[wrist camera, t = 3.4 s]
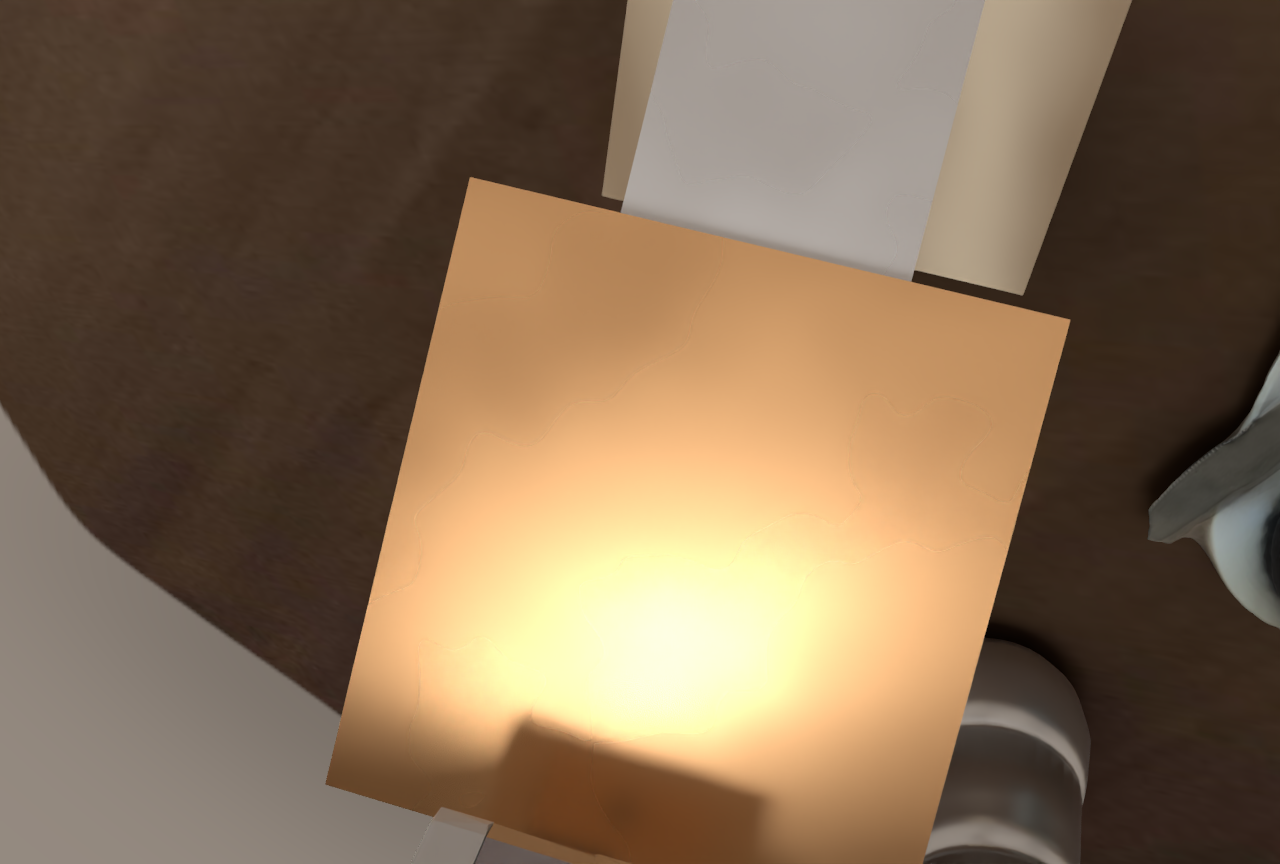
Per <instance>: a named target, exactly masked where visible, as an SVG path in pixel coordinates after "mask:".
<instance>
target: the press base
mask: <svg viewBox="0 0 1280 864" xmlns="http://www.w3.org/2000/svg"><path fill="white" fill-rule="evenodd" d="M1131 1H1132V0H985V3H984V7H983V11H982V15H981V18H980V22H979V26H978V30H977V34H976V37H975V41H974V45H973V49H972V53H971V56H970V60H969V64H968V68H967V72H966V75H965V79H964V83H963V87H962V91H961V94H960V98H959V102H958V106H957V110H956V113H955V117H954V121H953V125H952V129H951V132H950V136H949V140H948V144H947V148H946V151H945V155H944V159H943V163H942V167H941V170H940V174H939V178H938V182H937V186H936V189H935V193H934V197H933V201H932V205H931V208H930V212H929V216H928V220H927V224H926V227H925V231H924V235H923V239H922V243H921V247H920V250H919V254H918V258H917V262H916V266H915V269H914V270H917V271H922V272H926V273H930V274H934V275H938V276H943V277H947V278H951V279H955V280H960V281H964V282H968V283H972V284H976V285H981V286H985V287H989V288H993V289H998V290H1002V291H1006V292H1010V293H1015V294H1019V295H1023V294H1024V291H1025V289H1026V286H1027V283H1028V280H1029V278H1030V275H1031V272H1032V270H1033V267H1034V264H1035V261H1036V259H1037V256H1038V253H1039V251H1040V248H1041V245H1042V242H1043V240H1044V237H1045V234H1046V232H1047V229H1048V226H1049V223H1050V221H1051V218H1052V215H1053V213H1054V210H1055V207H1056V204H1057V202H1058V199H1059V196H1060V194H1061V191H1062V188H1063V186H1064V183H1065V180H1066V177H1067V175H1068V172H1069V169H1070V167H1071V164H1072V161H1073V158H1074V156H1075V153H1076V150H1077V148H1078V145H1079V142H1080V139H1081V137H1082V134H1083V131H1084V129H1085V126H1086V123H1087V120H1088V118H1089V115H1090V112H1091V110H1092V107H1093V104H1094V101H1095V99H1096V96H1097V93H1098V91H1099V88H1100V85H1101V83H1102V80H1103V77H1104V74H1105V72H1106V69H1107V66H1108V64H1109V61H1110V58H1111V55H1112V53H1113V50H1114V47H1115V45H1116V42H1117V39H1118V36H1119V34H1120V31H1121V28H1122V26H1123V23H1124V20H1125V17H1126V15H1127V12H1128V9H1129V7H1130V4H1131ZM672 3H673V0H628V2H627V10H626V17H625V25H624V32H623V40H622V47H621V55H620V62H619V70H618V77H617V85H616V93H615V100H614V108H613V115H612V123H611V130H610V138H609V145H608V153H607V160H606V168H605V176H604V183H603V191H602V196H604V197H609V198H613V199H617V200H621V201H624V197H625V193H626V189H627V185H628V181H629V177H630V173H631V169H632V165H633V161H634V157H635V153H636V149H637V145H638V140H639V136H640V132H641V128H642V124H643V120H644V116H645V112H646V108H647V104H648V100H649V96H650V92H651V88H652V84H653V80H654V76H655V72H656V68H657V63H658V59H659V55H660V51H661V47H662V43H663V39H664V35H665V31H666V27H667V23H668V19H669V15H670V11H671V7H672Z"/></svg>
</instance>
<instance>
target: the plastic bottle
mask: <svg viewBox="0 0 1280 864" xmlns="http://www.w3.org/2000/svg"><path fill="white" fill-rule="evenodd" d="M1090 746H1091V739H1090V734H1089V729H1088V725H1087V722H1086V719H1085V716H1084V713H1083V709H1082V706H1081V703H1080V700H1079V698H1078V696H1077V693H1076V691H1075V689H1074V687H1073V686H1072V684H1071V683H1070V682H1069V680H1068V679H1067V678H1066V677H1065V675H1064V674H1063V673H1061V672H1060V671H1059V670H1058V669H1057V668H1056V667H1054V666H1053V665H1052V664H1051V663H1050V662H1048V661H1047V660H1046V659H1045V658H1043V657H1042V656H1041V655H1039V654H1037V653H1036V652H1034V651H1032V650H1031V649H1029V648H1027V647H1024V646H1022V645H1019V644H1017V643H1014V642H1010V641H1005V640H1001V639H993V638H984V640H983V644H982V647H981V651H980V655H979V658H978V662H977V666H976V669H975V673H974V677H973V681H972V684H971V688H970V692H969V695H968V699H967V703H966V706H965V710H964V714H963V717H962V721H961V725H960V728H959V732H958V736H957V739H956V743H955V747H954V750H953V754H952V758H951V761H950V765H949V769H948V772H947V776H946V780H945V783H944V787H943V791H942V794H941V798H940V802H939V806H938V809H937V813H936V817H935V820H934V824H933V828H932V831H931V835H930V839H929V842H928V846H927V850H926V853H925V857H924V861H923V864H1080V852H1081V818H1082V804H1083V802H1084V797H1085V792H1086V787H1087V780H1088V770H1089V758H1090Z"/></svg>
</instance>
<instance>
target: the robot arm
mask: <svg viewBox="0 0 1280 864" xmlns="http://www.w3.org/2000/svg"><path fill="white" fill-rule="evenodd" d="M411 864H632V863H628V862H624V861H621V860H617V859H614V858H610V857H607V856H603V855H600V854H596V855H594V854H591V853H588V852H585V851H582V850H578V849H575V848H572V847H569V846H566V845H562V844H559V843H556V842H553V841H550V840H546V839H543V838H540V837H537V836H534V835H530V834H527V833H524V832H521V831H518V830H514V829H511V828H508V827H505V826H502V825H498V824H495V823H494V822H491V821H488V820H484V819H481V818H478V817H474V816H471V815H468V814H464V813H461V812H457V811H454V810H451V809H447V808H444V807H441V808H440V810H439V811H438V812H437V814H436V815H435V816H434V818H433V819H432V820H431V822H430V823H429V825H428V827H427V829H426V832H425V834H424V836H423V838H422V840H421V842H420V844H419V846H418V849H417V851H416V853H415V855H414V857H413V859H412V861H411Z"/></svg>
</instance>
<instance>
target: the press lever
mask: <svg viewBox="0 0 1280 864" xmlns="http://www.w3.org/2000/svg"><path fill="white" fill-rule="evenodd" d="M984 3H985V0H673V3H672V7H671V11H670V15H669V19H668V23H667V27H666V31H665V35H664V39H663V43H662V47H661V51H660V55H659V59H658V63H657V68H656V72H655V76H654V80H653V84H652V88H651V92H650V96H649V100H648V104H647V108H646V112H645V116H644V120H643V124H642V128H641V132H640V136H639V140H638V145H637V149H636V153H635V157H634V161H633V165H632V169H631V173H630V177H629V181H628V185H627V189H626V193H625V197H624V201H623V205H622V209H621V213H619V212H615V211H611V210H607V209H602V208H598V207H594V206H590V205H586V204H581V203H577V202H573V201H569V200H565V199H560V198H556V197H552V196H548V195H544V194H539V193H535V192H531V191H527V190H522V189H518V188H514V187H510V186H506V185H501V184H497V183H493V182H489V181H485V180H480V179H476V178H472V177H470V179H469V184H468V188H467V192H466V196H465V200H464V205H463V209H462V213H461V217H460V221H459V226H458V230H457V234H456V238H455V242H454V247H453V251H452V255H451V259H450V263H449V268H448V272H447V276H446V280H445V284H444V289H443V293H442V297H441V301H440V305H439V310H438V314H437V318H436V322H435V326H434V331H433V335H432V339H431V343H430V347H429V352H428V356H427V360H426V364H425V368H424V373H423V377H422V381H421V385H420V389H419V393H418V398H417V402H416V406H415V410H414V414H413V419H412V423H411V427H410V431H409V435H408V440H407V444H406V448H405V452H404V456H403V461H402V465H401V469H400V473H399V477H398V482H397V486H396V490H395V494H394V498H393V503H392V507H391V511H390V515H389V519H388V524H387V528H386V532H385V536H384V540H383V545H382V549H381V553H380V557H379V561H378V566H377V570H376V574H375V578H374V582H373V586H372V591H371V595H370V599H369V603H368V607H367V612H366V616H365V620H364V624H363V628H362V633H361V637H360V641H359V645H358V649H357V654H356V658H355V662H354V666H353V670H352V675H351V679H350V683H349V687H348V691H347V696H346V700H345V704H344V708H343V712H342V717H341V721H340V725H339V729H338V733H337V738H336V742H335V746H334V750H333V754H332V759H331V763H330V767H329V771H328V775H327V780H326V785H329V786H332V787H336V788H339V789H342V790H346V791H349V792H352V793H356V794H359V795H362V796H366V797H369V798H372V799H376V800H379V801H382V802H385V803H389V804H392V805H395V806H399V807H402V808H405V809H409V810H412V811H416V812H419V813H422V814H425V815H429V816H432V817H434V816H435V815H436V814H437V812H438V811H439V810H440V808H441V807H444V808H447V809H451V810H454V811H457V812H461V813H464V814H468V815H471V816H474V817H478V818H481V819H484V820H488V821H491V822H494V823H495V824H498V825H502V826H505V827H508V828H511V829H514V830H518V831H521V832H524V833H527V834H530V835H534V836H537V837H540V838H543V839H546V840H550V841H553V842H556V843H559V844H562V845H566V846H569V847H572V848H575V849H578V850H582V851H585V852H588V853H591V854H594V855H596V854H600V855H603V856H607V857H610V858H614V859H617V860H621V861H624V862H628V863H632V864H923V861H924V857H925V853H926V850H927V846H928V842H929V839H930V835H931V831H932V828H933V824H934V820H935V817H936V813H937V809H938V806H939V802H940V798H941V794H942V791H943V787H944V783H945V780H946V776H947V772H948V769H949V765H950V761H951V758H952V754H953V750H954V747H955V743H956V739H957V736H958V732H959V728H960V725H961V721H962V717H963V714H964V710H965V706H966V703H967V699H968V695H969V692H970V688H971V684H972V681H973V677H974V673H975V669H976V666H977V662H978V658H979V655H980V651H981V647H982V644H983V640H984V636H985V633H986V629H987V625H988V622H989V618H990V614H991V611H992V607H993V603H994V600H995V596H996V592H997V589H998V585H999V581H1000V578H1001V574H1002V570H1003V567H1004V563H1005V559H1006V556H1007V552H1008V548H1009V544H1010V541H1011V537H1012V533H1013V530H1014V526H1015V522H1016V519H1017V515H1018V511H1019V508H1020V504H1021V500H1022V497H1023V493H1024V489H1025V486H1026V482H1027V478H1028V475H1029V471H1030V467H1031V464H1032V460H1033V456H1034V453H1035V449H1036V445H1037V442H1038V438H1039V434H1040V431H1041V427H1042V423H1043V419H1044V416H1045V412H1046V408H1047V405H1048V401H1049V397H1050V394H1051V390H1052V386H1053V383H1054V379H1055V375H1056V372H1057V368H1058V364H1059V361H1060V357H1061V353H1062V350H1063V346H1064V342H1065V339H1066V335H1067V331H1068V328H1069V324H1070V320H1069V319H1065V318H1061V317H1057V316H1053V315H1048V314H1044V313H1040V312H1036V311H1031V310H1027V309H1023V308H1019V307H1015V306H1010V305H1006V304H1002V303H998V302H994V301H989V300H985V299H981V298H977V297H973V296H968V295H964V294H960V293H956V292H952V291H947V290H943V289H939V288H935V287H931V286H926V285H922V284H918V283H914V282H911V281H912V277H913V273H914V269H915V266H916V262H917V258H918V254H919V250H920V247H921V243H922V239H923V235H924V231H925V227H926V224H927V220H928V216H929V212H930V208H931V205H932V201H933V197H934V193H935V189H936V186H937V182H938V178H939V174H940V170H941V167H942V163H943V159H944V155H945V151H946V148H947V144H948V140H949V136H950V132H951V129H952V125H953V121H954V117H955V113H956V110H957V106H958V102H959V98H960V94H961V91H962V87H963V83H964V79H965V75H966V72H967V68H968V64H969V60H970V56H971V53H972V49H973V45H974V41H975V37H976V34H977V30H978V26H979V22H980V18H981V15H982V11H983V7H984Z"/></svg>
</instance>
